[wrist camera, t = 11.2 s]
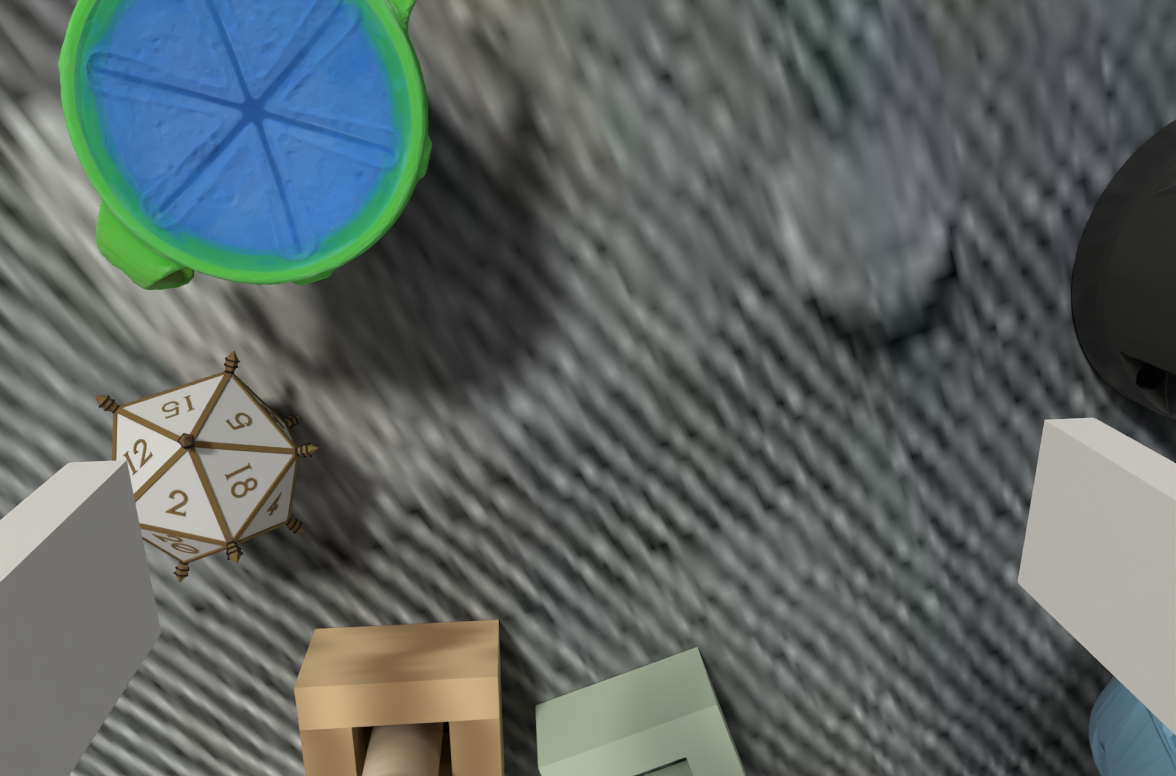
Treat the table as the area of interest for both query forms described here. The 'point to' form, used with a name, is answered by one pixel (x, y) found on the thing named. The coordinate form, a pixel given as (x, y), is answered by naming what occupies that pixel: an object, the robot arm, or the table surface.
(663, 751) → the sage bead
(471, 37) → the table surface
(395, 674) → the wooden square ring
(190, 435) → the game die
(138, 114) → the snack cup
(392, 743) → the dowel
